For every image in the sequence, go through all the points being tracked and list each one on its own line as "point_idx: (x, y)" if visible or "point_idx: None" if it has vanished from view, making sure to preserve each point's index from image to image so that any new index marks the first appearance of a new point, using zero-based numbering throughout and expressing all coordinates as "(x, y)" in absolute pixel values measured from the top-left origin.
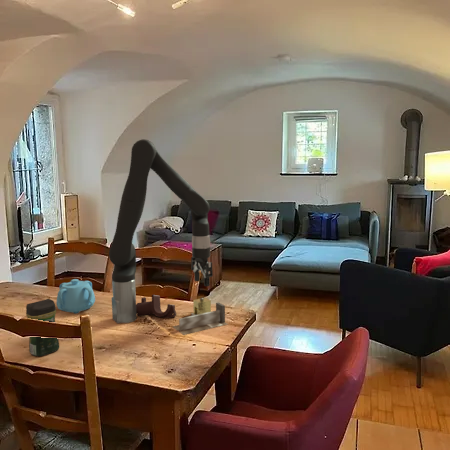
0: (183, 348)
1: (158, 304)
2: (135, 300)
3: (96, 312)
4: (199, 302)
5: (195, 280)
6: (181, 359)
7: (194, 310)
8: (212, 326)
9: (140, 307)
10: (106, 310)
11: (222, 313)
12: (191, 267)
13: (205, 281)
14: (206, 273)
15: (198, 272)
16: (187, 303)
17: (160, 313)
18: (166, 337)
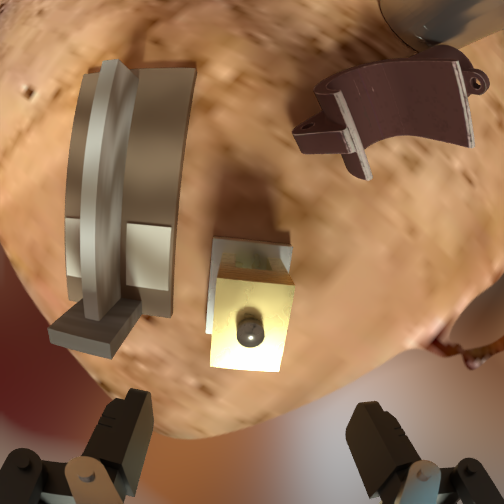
0: (36, 53)
1: (423, 116)
2: (445, 1)
3: None
4: (219, 289)
5: (363, 408)
6: (7, 35)
7: (271, 263)
8: (72, 227)
9: (436, 48)
10: (501, 56)
11: (68, 311)
12: (484, 476)
13: (114, 427)
14: (18, 490)
15: (379, 492)
16: (418, 319)
17: (340, 75)
18: (139, 24)
